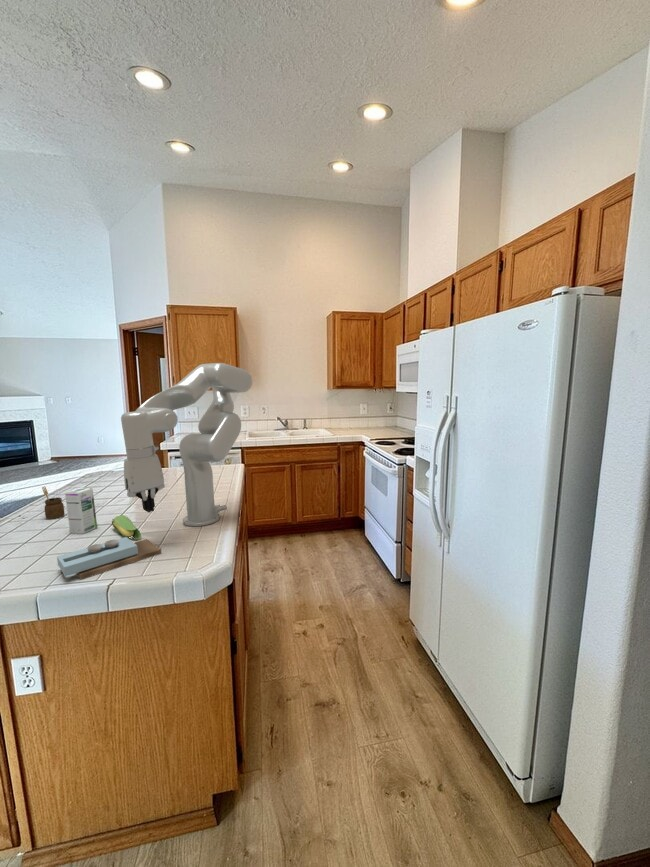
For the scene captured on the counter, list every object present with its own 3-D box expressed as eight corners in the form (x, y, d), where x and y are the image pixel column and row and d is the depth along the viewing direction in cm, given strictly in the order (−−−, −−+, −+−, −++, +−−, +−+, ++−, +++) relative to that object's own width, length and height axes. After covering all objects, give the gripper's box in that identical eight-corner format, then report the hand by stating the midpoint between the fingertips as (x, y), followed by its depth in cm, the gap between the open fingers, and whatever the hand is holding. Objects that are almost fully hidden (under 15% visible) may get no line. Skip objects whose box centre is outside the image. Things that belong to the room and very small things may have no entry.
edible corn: (126, 512, 131) (112, 512, 127) (145, 529, 116) (129, 529, 113) (123, 527, 130) (108, 527, 127) (141, 545, 116) (125, 545, 113)
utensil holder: (57, 519, 138) (53, 488, 136) (40, 519, 138) (37, 488, 136) (68, 514, 143) (65, 484, 142) (52, 514, 144) (49, 484, 142)
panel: (127, 544, 109) (126, 536, 109) (137, 553, 103) (137, 545, 103) (57, 565, 97) (56, 556, 97) (65, 576, 91) (64, 567, 91)
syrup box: (83, 534, 123) (79, 492, 121) (69, 533, 124) (64, 491, 122) (97, 527, 128) (93, 487, 126) (83, 527, 129) (79, 486, 127)
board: (147, 542, 114) (145, 526, 114) (161, 553, 107) (159, 535, 106) (70, 565, 100) (68, 546, 100) (80, 579, 93) (78, 559, 92)
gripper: (160, 446, 117) (168, 500, 121) (109, 456, 107) (119, 515, 110) (170, 449, 112) (178, 505, 116) (118, 460, 102) (128, 522, 105)
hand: (149, 510), depth 113 cm, fingers closed
